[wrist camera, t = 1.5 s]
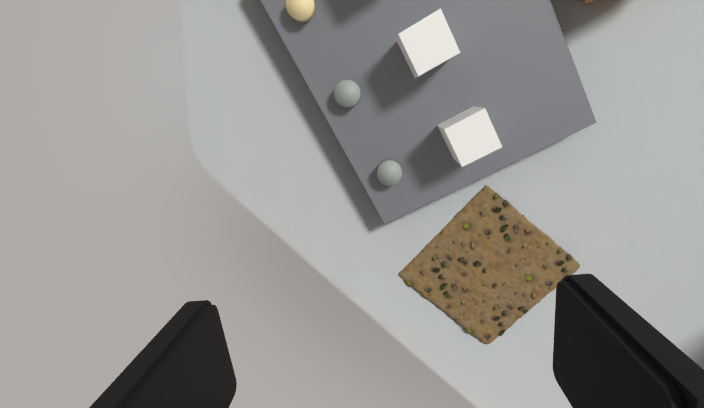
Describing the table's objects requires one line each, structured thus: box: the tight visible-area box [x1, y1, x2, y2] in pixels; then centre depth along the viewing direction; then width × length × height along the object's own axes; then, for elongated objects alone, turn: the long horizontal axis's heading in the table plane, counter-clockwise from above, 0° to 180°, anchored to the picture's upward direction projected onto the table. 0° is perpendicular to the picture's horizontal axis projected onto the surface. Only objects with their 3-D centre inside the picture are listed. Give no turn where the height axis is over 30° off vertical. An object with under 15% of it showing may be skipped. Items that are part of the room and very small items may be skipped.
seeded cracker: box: [398, 186, 580, 344], centre depth 34 cm, size 12×12×1 cm
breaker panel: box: [261, 0, 596, 224], centre depth 26 cm, size 18×22×6 cm
